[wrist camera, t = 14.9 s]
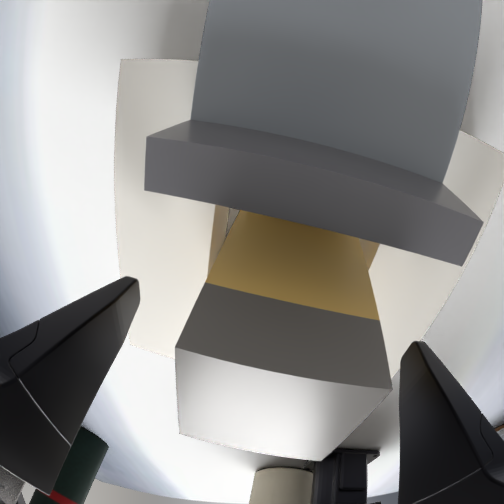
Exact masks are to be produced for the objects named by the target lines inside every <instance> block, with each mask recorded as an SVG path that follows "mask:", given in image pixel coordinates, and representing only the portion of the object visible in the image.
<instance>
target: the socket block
mask: <svg viewBox="0 0 504 504" xmlns="http://www.w3.org/2000/svg"><path fill="white" fill-rule="evenodd" d="M197 68H198V61H194V60H176V59H121V63H120V72H119V82H118V92H117V105H116V122H115V151H114V186H115V216H116V233H117V247H118V258H119V268H120V278H123V277H125V276H130V277H133V278H136V279H138V281H139V287H140V304H139V307H138V309H137V312H136V314H135V316H134V319H133V321H132V323H131V326H130V328H129V331H128V334H129V340H130V345H132V346H135V347H138V348H141V349H144V350H147V351H150V352H153V353H156V354H159V355H162V356H165V357H168V358H172V359H175V345H176V343H177V341H178V339H179V337H180V335H181V332H182V330H183V328H184V326H185V324H186V321H187V319H188V317H189V315H190V313H191V311H192V309H193V306H194V304H195V302H196V300H197V298H198V296H199V294H200V292H201V289H202V287H203V285H204V283H205V281H206V279H207V277H208V275H209V273H210V270H211V268H212V266H213V264H214V262H215V260H216V258H217V256H218V254H219V252H220V250H221V248H222V246H223V244H224V242H225V237H226V230H227V223H228V216H229V210H230V208H229V207H224V206H220V205H215V204H210V203H205V202H201V201H196V200H191V199H186V198H181V197H176V196H171V195H166V194H160V193H155V192H150V191H145V190H144V179H145V154H146V137H147V136H149V135H151V134H154V133H156V132H159V131H161V130H164V129H167V128H169V127H172V126H174V125H177V124H180V123H182V122H185V121H188V120H190V118H191V110H192V102H193V95H194V88H195V81H196V74H197ZM503 183H504V153H502V152H501V151H499V150H497V149H496V148H494V147H492V146H490V145H488V144H487V143H485V142H483V141H481V140H479V139H477V138H475V137H473V136H471V135H469V134H467V133H465V132H463V131H461V130H460V131H459V134H458V138H457V141H456V144H455V148H454V151H453V154H452V157H451V160H450V163H449V166H448V169H447V172H446V175H445V178H444V181H443V184H444V185H445V186H446V187H447V188H448V189H449V190H450V191H452V192H453V193H454V194H455V195H456V196H457V197H458V198H459V199H460V200H461V201H462V202H464V203H465V204H466V205H467V206H468V207H469V208H470V209H471V210H472V211H473V212H474V213H475V214H476V215H477V216H478V217H479V218H480V219H481V220H482V221H483V222H484V223H483V225H482V227H481V230H480V232H479V234H478V236H477V238H476V240H475V242H474V244H473V246H472V248H471V250H470V252H469V254H468V256H467V258H466V260H465V262H464V264H463V266H462V267H461V266H458V265H454V264H451V263H448V262H444V261H441V260H437V259H434V258H430V257H427V256H423V255H420V254H416V253H413V252H409V251H405V250H402V249H398V248H394V247H391V246H387V245H383V244H379V243H376V242H372V241H368V240H364V239H360V238H359V240H360V243H361V247H362V250H363V254H364V258H365V261H366V265H367V269H368V273H369V276H370V280H371V284H372V288H373V292H374V297H375V301H376V305H377V310H378V314H379V319H380V323H381V328H382V333H383V338H384V343H385V348H386V353H387V359H388V364H389V370H390V376H391V379H392V378H393V377H394V375H395V374H396V373H397V371H398V370H399V369H400V361H401V358H402V356H403V354H404V353H405V352H406V350H407V349H408V347H409V346H410V344H411V343H412V342H413V341H421V339H422V338H423V336H424V335H425V333H426V332H427V330H428V329H429V328H430V326H431V325H432V323H433V321H434V320H435V318H436V317H437V315H438V314H439V312H440V311H441V309H442V307H443V306H444V304H445V303H446V301H447V299H448V298H449V296H450V294H451V293H452V291H453V289H454V288H455V286H456V284H457V282H458V281H459V279H460V277H461V275H462V273H463V271H464V270H465V268H466V266H467V264H468V262H469V260H470V258H471V256H472V254H473V252H474V250H475V248H476V246H477V244H478V242H479V240H480V238H481V236H482V234H483V232H484V229H485V227H486V225H487V223H488V221H489V218H490V216H491V214H492V211H493V209H494V206H495V204H496V201H497V199H498V196H499V194H500V191H501V189H502V186H503Z"/></svg>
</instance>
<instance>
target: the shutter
mask: <svg viewBox="0 0 504 504" xmlns="http://www.w3.org/2000/svg"><path fill="white" fill-rule="evenodd" d="M481 13H482V0H210V2H209V6H208V11H207V16H206V22H205V27H204V32H203V38H202V43H201V49H200V55H199V61H198V68H197V74H196V81H195V88H194V95H193V102H192V110H191V118H190V120H188V121H185V122H182V123H180V124H177V125H174V126H172V127H169V128H167V129H164V130H161V131H159V132H156V133H154V134H151V135H149V136H147V137H146V154H145V179H144V190H145V191H150V192H155V193H160V194H166V195H171V196H176V197H181V198H186V199H191V200H196V201H201V202H205V203H210V204H215V205H220V206H224V207H229V208H234V209H238V210H243V211H247V212H252V213H256V214H261V215H265V216H270V217H274V218H278V219H283V220H287V221H291V222H296V223H300V224H304V225H308V226H312V227H316V228H321V229H325V230H329V231H333V232H337V233H341V234H345V235H349V236H353V237H356V238H360V239H364V240H368V241H372V242H376V243H379V244H383V245H387V246H391V247H394V248H398V249H402V250H405V251H409V252H413V253H416V254H420V255H423V256H427V257H430V258H434V259H437V260H441V261H444V262H448V263H451V264H454V265H458V266H461V267H462V266H463V264H464V262H465V260H466V258H467V256H468V254H469V252H470V250H471V248H472V246H473V244H474V242H475V240H476V238H477V236H478V234H479V232H480V230H481V227H482V225H483V223H484V222H483V221H482V220H481V219H480V218H479V217H478V216H477V215H476V214H475V213H474V212H473V211H472V210H471V209H470V208H469V207H468V206H467V205H466V204H465V203H464V202H462V201H461V200H460V199H459V198H458V197H457V196H456V195H455V194H454V193H453V192H452V191H450V190H449V189H448V188H447V187H446V186H445V185H444V184H443V181H444V178H445V175H446V172H447V169H448V166H449V163H450V160H451V157H452V154H453V151H454V148H455V144H456V141H457V138H458V134H459V131H460V127H461V123H462V120H463V116H464V112H465V108H466V104H467V100H468V95H469V91H470V86H471V81H472V76H473V71H474V66H475V60H476V54H477V47H478V40H479V32H480V23H481Z"/></svg>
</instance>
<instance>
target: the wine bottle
mask: <svg viewBox="0 0 504 504" xmlns="http://www.w3.org/2000/svg"><path fill="white" fill-rule="evenodd" d="M70 446H71V448H70V450H69V452H68V454H67V457H66V459H65V461H64V463H63V466H62V468H61V470H60V473H59V475H58V477H57V480H56V482H55V484H54V487H53V489H52V491H51V493H50V495H47V494H45V493H43V492H42V491H40V490H38V489H36V490H35V492H34V494H33V496H32V499H31V501H30V503H29V504H84V502H85V499H86V497H87V495H88V492H89V490H90V488H91V486H92V483H93V481H94V479H95V476H96V474H97V472H98V470H99V468H100V465H101V463H102V461H103V459H104V456H105V454H106V452H107V450H108V448H109V447H108V445H107V443H105V442H104V441H103V440H102V439H100V438H99V437H98V436H96V435H94V434H93V433H91V432H90V431H88V430H86V429H84V428H82V427H80V428H79V430H78V432H77V435H76V437H75V439H74V441H73V443H72V445H70Z"/></svg>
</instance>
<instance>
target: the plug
mask: <svg viewBox="0 0 504 504" xmlns="http://www.w3.org/2000/svg"><path fill="white" fill-rule="evenodd" d="M175 370H176V390H177V407H178V421H179V434H182V435H185V436H189V437H192V438H196V439H199V440H203V441H207V442H211V443H215V444H219V445H223V446H227V447H232V448H236V449H241V450H246V451H251V452H256V453H262V454H268V455H274V456H280V457H287V458H295V459H303V460H313V461H322V460H323V459H324V458H325V457H326V456H327V455H329V454H330V453H331V452H332V451H333V450H334V449H335V448H336V447H337V446H339V445H340V444H341V443H342V442H343V441H344V440H345V439H346V438H347V437H348V436H349V435H350V434H351V433H352V432H353V431H354V430H355V429H356V428H357V427H358V426H359V425H360V424H361V423H362V422H363V421H364V420H365V419H366V418H367V417H368V416H369V415H370V414H371V413H372V412H373V411H374V410H375V409H376V408H377V406H378V405H379V404H380V403H381V402H382V401H383V400H384V399H385V398H386V396H387V395H388V394H389V393H390V392H391V391H392V390H393V389H392V382H391V376H390V370H389V364H388V359H387V353H386V348H385V343H384V338H383V333H382V328H381V323H380V319H379V314H378V310H377V305H376V301H375V297H374V292H373V288H372V284H371V280H370V276H369V273H368V269H367V265H366V261H365V258H364V254H363V250H362V247H361V243H360V240H359V238H356V237H353V236H349V235H345V234H341V233H337V232H333V231H329V230H325V229H321V228H316V227H312V226H308V225H304V224H300V223H296V222H291V221H287V220H283V219H278V218H274V217H270V216H265V215H261V214H256V213H252V212H247V211H243V210H240V211H239V213H238V215H237V217H236V219H235V221H234V223H233V225H232V227H231V229H230V231H229V233H228V235H227V237H226V239H225V242H224V244H223V246H222V248H221V250H220V252H219V254H218V256H217V258H216V260H215V262H214V264H213V266H212V268H211V270H210V273H209V275H208V277H207V279H206V281H205V283H204V285H203V287H202V289H201V292H200V294H199V296H198V298H197V300H196V302H195V304H194V306H193V309H192V311H191V313H190V315H189V317H188V319H187V321H186V324H185V326H184V328H183V330H182V332H181V335H180V337H179V339H178V341H177V343H176V345H175Z"/></svg>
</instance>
